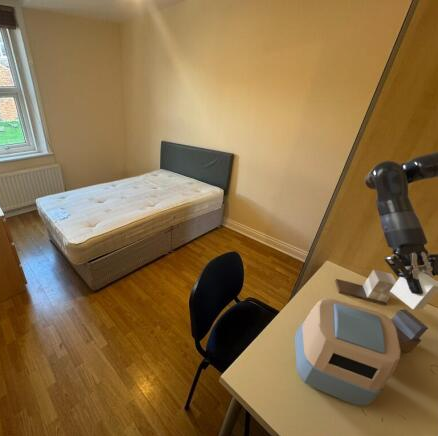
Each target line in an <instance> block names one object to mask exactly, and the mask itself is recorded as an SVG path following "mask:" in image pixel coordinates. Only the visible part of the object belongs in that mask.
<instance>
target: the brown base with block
mask: <svg viewBox="0 0 438 436" xmlns="http://www.w3.org/2000/svg"><path fill="white" fill-rule="evenodd" d="M397 281H398V280H396V278H395V276H394V275H393V274H392V273H390V272H386V271H382V270H377V269H372V270H371V272H370V274H369V276H368V277H367V279H366V280H365V282H364V283H363V285H362V284H359V283H354V282H350V281H346V280H343V279H339V278H335V280H334V282H335V285H336V288H337V292H338V294H341V295H344V296H349V297H352V298H355V299H360V300H363V301H367V302H370V303H374V304H378V305H380V306H381V305H382V306H386V305H387V302H388V301H389V300H390V298H391V297H392V296H393V295H394V294H393V293H391V292H390V290H391V289H392V287H393V286H394V285H395V283H396V282H397Z"/></svg>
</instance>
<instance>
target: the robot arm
mask: <svg viewBox="0 0 438 436" xmlns="http://www.w3.org/2000/svg"><path fill="white" fill-rule="evenodd" d="M437 178H438V151H435V152H431V153H426V154H422V155H419V156H415V157H413V158H411V159H409V160H407V161H405V162H402V163H399V162H397V161H395V160H384V161H381V162H378V163H377V164H376V165H374V166H373V167H372V168H371V169H370V171H369V172H368V173H367V174H366V175H365V177H364V184H365V186H366V187H367V188H369V189H371V190H373V191H376V194H377V197H376V199H375V207H376V209H377V213H378V216H379V219H380V225H381V226H380V227H381V229H382V232H383V235H384V239H385V241H386V245H387V247H388V248H390V249H392V252H391V255H390V256H384V258H383V259H384V261H385V263H387V265H388V266H389V268H390V269H391V271H393V273H394V275H396V277H398V278H400V277H402V278H404V279H406V281H407V283H408V287H409V290H410V291H411V292H412V293H413V294H423V290H422V287H421V284H420V282H419V279H417V278H418V276H417V270H418V269H419V270H421V271H422V272H424V273H425V274H427V275H428V276H430V277H431V278H433V279H434V277H435V276H438V253H430V252H428V249H427V248H426V247H425V245H427V244H428V239H427V237H426V234H425V231H424V229H423V226H422V223H421V220H420V218H419V216H418V215H417V213H416V211H415V208H414V205H413V202H412V200H411V198H410V194H409V185H410V184H413V183H416V182H420V181H426V180H432V179H437ZM408 270H410V272H411V274H410V273H409V272H408Z"/></svg>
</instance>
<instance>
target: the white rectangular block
mask: <svg viewBox="0 0 438 436" xmlns="http://www.w3.org/2000/svg"><path fill="white" fill-rule="evenodd" d="M408 272H409V273H410V274H411V272H410V270H408ZM417 276H418V278H417V279H419V282H420V284H421V287H422V290H423V294H413V293H412V292H411V291H410V290H409V287H408V283H407V281H406V279H404V278H402V277H398V279H397V280H396V281H397V282H396V283H395V285H394V286H393V287H392V289H391V290H390V292H391V293H393V294H392V295H394V296H395V297H396V298H398V300H400V301H401V302H402V303H404V304H405V305H406V306H408V307H409V308H410V309H411V310H413V311H414V310H423V309H424V308H425V307H426V306H427V305H428V304H429V303H430V302H431V300H432V299H433V298H434V297H435V296H436V295H437V293H438V280H437V279H435V278H434V277H433V278H431V277H430V276H428V275H427V274H425V273H424V271H423V270H422V271H421V270H419V269H418V270H417Z"/></svg>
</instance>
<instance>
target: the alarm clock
mask: <svg viewBox="0 0 438 436" xmlns="http://www.w3.org/2000/svg"><path fill="white" fill-rule="evenodd" d="M294 347H295V363H296V371H297V374H298V377H299V378H300V379H301V380H302V381H303V382H304V383H305V384H307V386H309V387H311V388H313V389H316V390H318V391H321V392H323V393H325V394H327V395H330V396H332V397H334V398H337V399H339V400H342V401H344V402H347V403H349V404H352V405H354V406H368V405H369V404H371V403H373V402H374V401H375V399H377V397H378V396H379V394H381V392H382V391H383V389H384V388H383V387H384V386H385V385H386V383H387V382H388V380H389V379H390V377H391V376H392V375H393V374H394V372H395V370H396V368H397V367H398V364H399V361H400V358H401V353H400V352H401V350H400V344H399V339H398V334H397V329H396V327H395V325H394V323H393V322H392V321H391V319H390V317H388V316H387V315H386V314H384V313H381V312H380V311H377V310H374V309H371V308H367V307H364V306H360V305H356V304H352V303H350V302H347V301H346V302H345V301H343V300H339V299H335V298H328V297H324V298H322V299H320V300H318V301H317V303H316V304H315V305H314V306H313V307H312V308H311V310H310V312H308V315H307V316H306V318H305V319H304V321H302V322H301V324H300V326H299V328H298V330H297V331H296V333H295V336H294Z"/></svg>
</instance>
